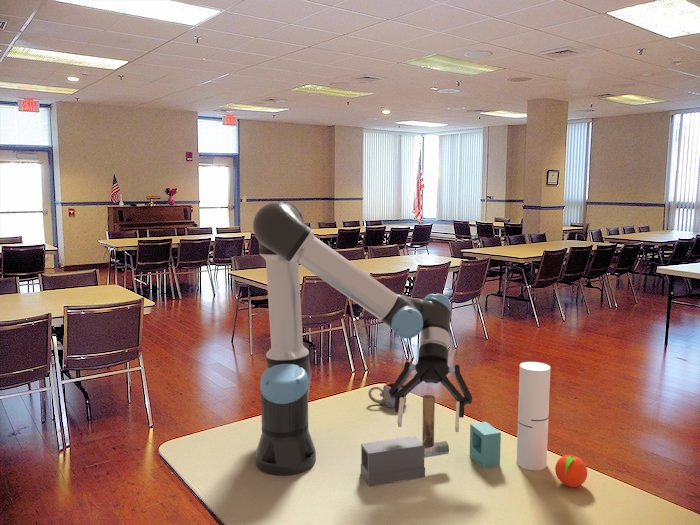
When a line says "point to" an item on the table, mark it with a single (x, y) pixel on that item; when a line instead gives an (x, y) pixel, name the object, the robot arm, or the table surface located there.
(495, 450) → the end socket
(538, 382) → the cylindrical container
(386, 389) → the mug
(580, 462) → the clementine
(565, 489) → the table surface
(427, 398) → the sliding bolt
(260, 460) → the robot arm
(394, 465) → the outer sleeve
